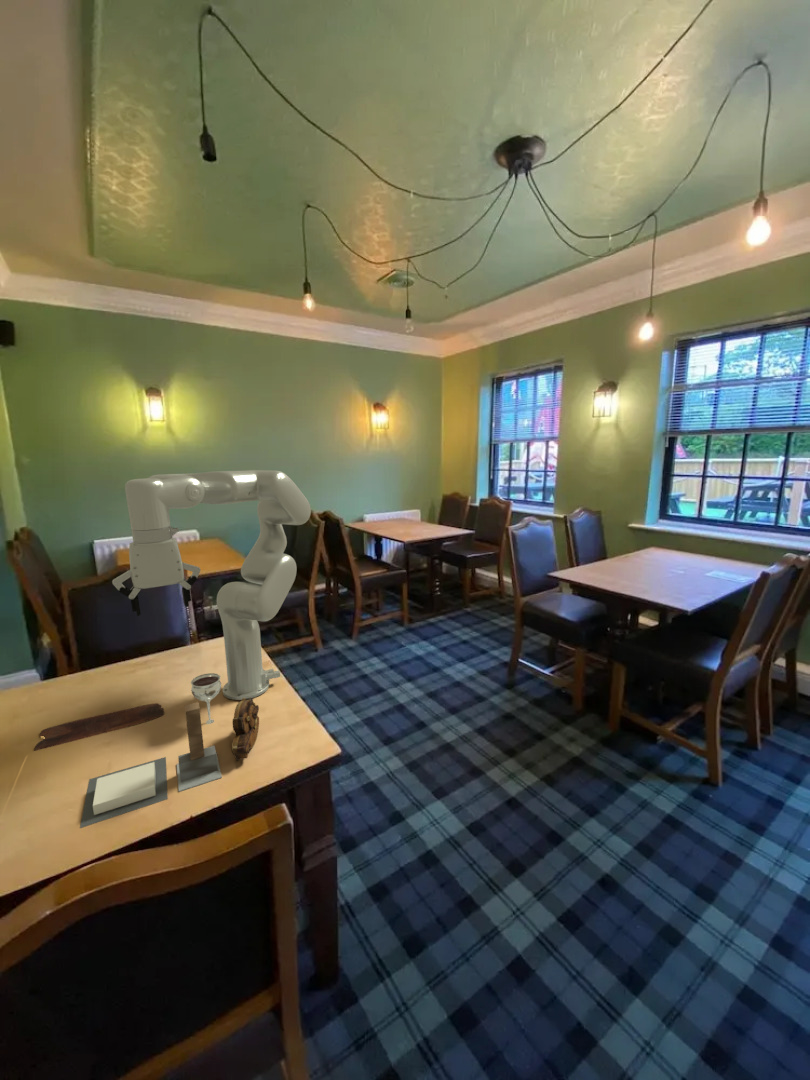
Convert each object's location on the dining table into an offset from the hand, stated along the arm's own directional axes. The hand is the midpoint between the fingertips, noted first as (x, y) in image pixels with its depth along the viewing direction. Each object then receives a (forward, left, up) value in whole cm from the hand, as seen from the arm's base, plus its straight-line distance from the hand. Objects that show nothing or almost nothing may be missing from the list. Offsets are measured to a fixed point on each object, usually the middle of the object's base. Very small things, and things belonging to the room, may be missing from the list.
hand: (163, 609), depth 102 cm
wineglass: (-7, -1, -32) cm, 33 cm away
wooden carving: (-14, +12, -32) cm, 37 cm away
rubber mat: (+10, +15, -32) cm, 37 cm away
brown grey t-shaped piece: (-3, +17, -31) cm, 36 cm away
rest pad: (-3, +17, -32) cm, 36 cm away
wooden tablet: (+16, -14, -33) cm, 39 cm away
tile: (+10, +13, -30) cm, 34 cm away
